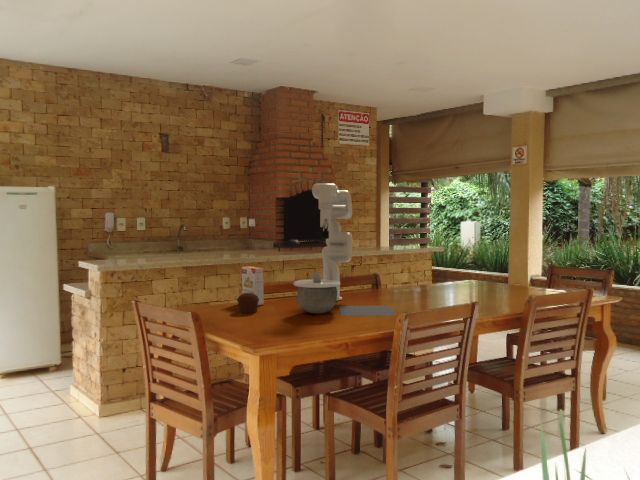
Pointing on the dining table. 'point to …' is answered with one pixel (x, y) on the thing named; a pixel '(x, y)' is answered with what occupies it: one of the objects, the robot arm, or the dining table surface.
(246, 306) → the muffin
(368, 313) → the mat
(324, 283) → the lid
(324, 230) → the robot arm
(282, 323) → the dining table surface
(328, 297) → the bowl
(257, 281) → the cracker box
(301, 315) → the dining table surface
